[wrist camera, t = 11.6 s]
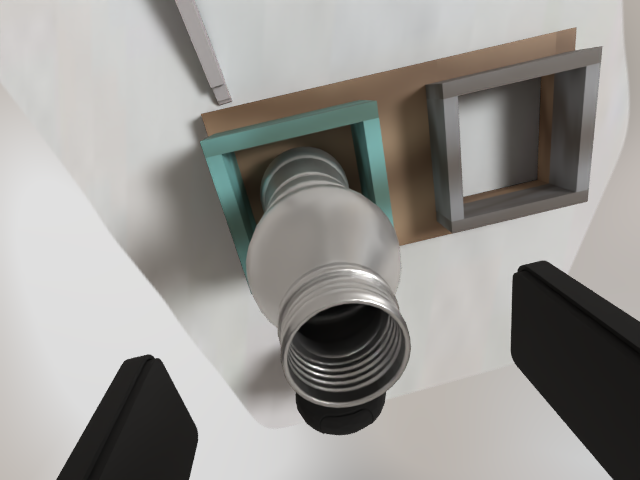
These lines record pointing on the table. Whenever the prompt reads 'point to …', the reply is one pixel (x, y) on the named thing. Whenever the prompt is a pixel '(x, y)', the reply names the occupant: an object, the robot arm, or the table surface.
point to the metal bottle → (328, 281)
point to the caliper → (204, 49)
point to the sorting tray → (415, 138)
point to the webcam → (340, 415)
